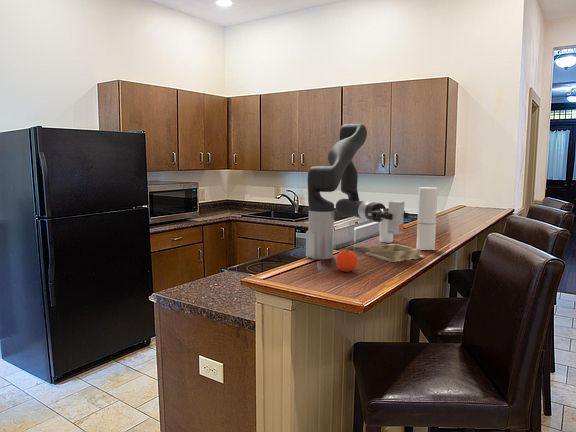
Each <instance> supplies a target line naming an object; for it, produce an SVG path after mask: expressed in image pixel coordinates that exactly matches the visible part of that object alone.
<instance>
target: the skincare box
mask: <svg viewBox="0 0 576 432" xmlns="http://www.w3.org/2000/svg"><path fill="white" fill-rule="evenodd" d="M404 211H405V200H391V201H388V213H390V214H393V219H392V220H388V229H387V233H388V234H393V235H396V236H397V235H401V234H403V233H404V220H405V218H404Z"/></svg>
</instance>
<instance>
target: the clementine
mask: <svg viewBox="0 0 576 432" xmlns="http://www.w3.org/2000/svg"><path fill="white" fill-rule="evenodd" d="M358 260H359V259H358V256H357V254H356V253H355V252H354V251H352V250H349V249H342V250H340V252H339V253H338V254H337V255H336V259H335V263H336V266H337V268H338V270H340V271H342V272H345V273H346V272H347V273H349V272H353V271H354V270H355V269H356V268H357V266H358Z"/></svg>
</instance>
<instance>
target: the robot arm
mask: <svg viewBox="0 0 576 432" xmlns="http://www.w3.org/2000/svg"><path fill="white" fill-rule="evenodd" d="M339 129H340V130H339V141H337V142H335V144H334V145H333V146H332V147H331V149H330V150H329V152H328V154H327V161H328V163H329V165H330V166H327V165H326V166H325V165H324V166H323V165H317V166H316V165H315V166H311V167H309V170H308V172H307V204H308V230H306V232H305V257H307V258H310V259H312V260H329V259H333V257H334V229H335V227H334V225H335V223H334V222H335V210H336V212H337V213H338V214H339V215H341V216H350V217H356V218H358V219H362V220H366V221H369V222H374V223H379V222H381V221H382V220H383V219H388V220H392V219H393V214H390V213H388V208H389V207H388V208H387V207H386V206H385V204H383V203H380V202H375V201H363V200H360V197H359V191H358V182H359V181H358V178H359V175H358V169H357V167H356V166H355V163H353V161H352V160H353V158H354V156H355V155H356V153H357V152H359V150H360V149H361V147H362V146H363V145H364V143H365V142H366V140H367V136H368V135H367V134H368V132H367V130H368V129H367V127H366V126H365V125H364V124H362V123H345V124H343V125H342V124H341V126H340V128H339ZM339 185H340V191H341V193H343V194H344V195H347V198H339V199H338V200H337V201H336V203H334V202H333V201H331V200H327V199H326V198H324V197H323V196H322V195H321V192H322V193H332V192H335V191H336V190H337V189H338V188H339ZM409 218H410V213H409V212H406V210H404V220H405V219H406V220H408V219H409Z"/></svg>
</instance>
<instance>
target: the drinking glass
mask: <svg viewBox="0 0 576 432" xmlns="http://www.w3.org/2000/svg"><path fill="white" fill-rule="evenodd" d="M378 223H379V225H378V227H379V242H380V243H389V244H391V243H393V241H394V234H388V233H387V229H388V219H383V220H382V221H381V222H378Z"/></svg>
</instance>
